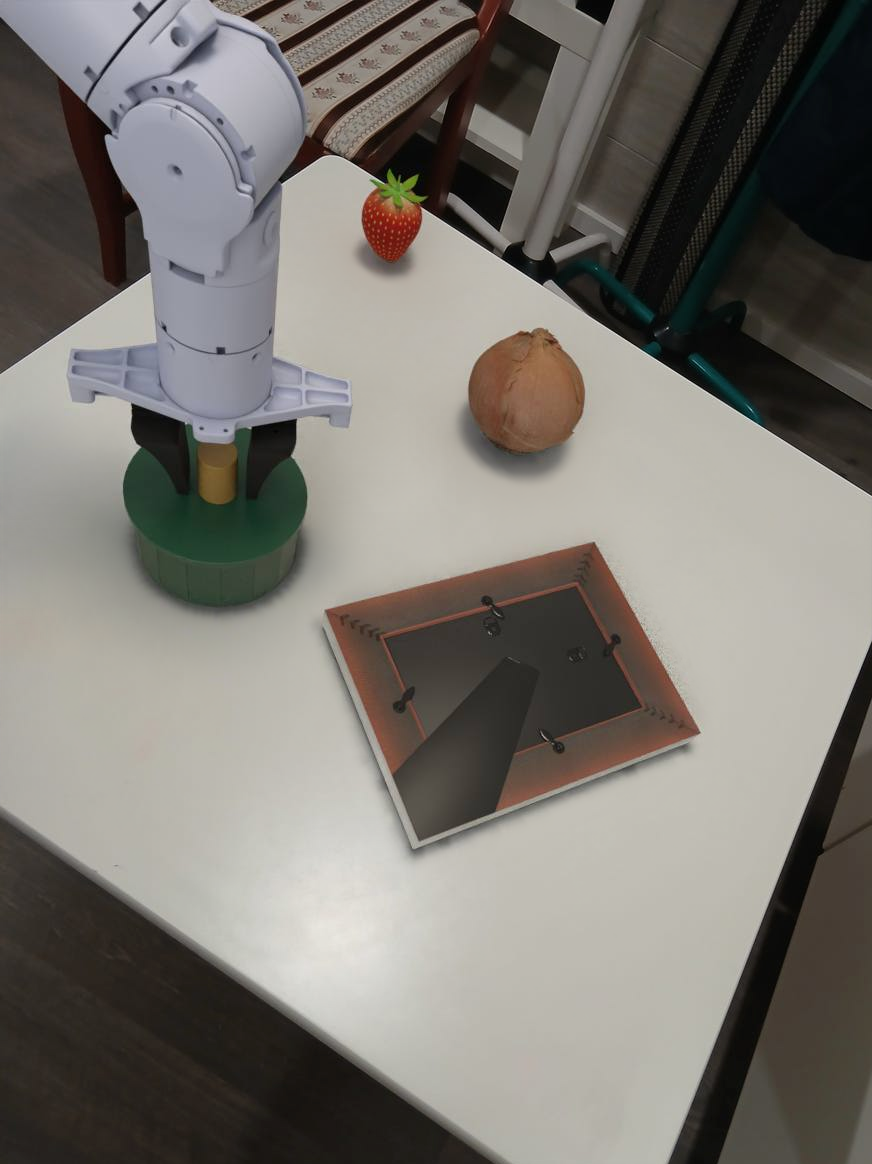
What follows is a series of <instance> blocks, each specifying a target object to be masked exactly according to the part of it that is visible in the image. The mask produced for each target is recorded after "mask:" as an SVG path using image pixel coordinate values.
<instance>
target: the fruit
mask: <svg viewBox="0 0 872 1164" xmlns="http://www.w3.org/2000/svg"><path fill="white" fill-rule="evenodd" d="M386 177H387V182H386V183H383V182H379V181H377V180H375V179H373V178H372V179H369V182H371V183H372V184H373V185H374V186H375V187H376V188H374V190H372V191H371V192H370V193H369V194H368V196H367V197H366V199H365V200H364V203H363V206H362V210H361V226H362V231H363V233H364V236H365V238H366V241H367V242H368V245H369V246H370V248H371V249H372V251H373V253H375V254H376V255H377V256H378V257H379V258H380V259H381V260H384V261H386V262H390V263H393V262H396V261H399V260H400V259H401V258H402V257H403V256H404V255H405V254H406V252H407V251H408V250H409V248H410V246H412V244H413V242H414V241H415V239H416V237H418V234H419V232H420V230H421V227H422V223H423V210H422V206H421V203H422V202H423V201H424V200H426V199H427V198H428V197H429V196H428V195H426V196H419V195H416V193H415V192H414V191H413V190H412V189H413V188H414V187H415V186H416V184H417V182H418V178H419V173H418V174H415V175H413V176H411V177H410V178H408V179H406V180H405V181H404V182H403V183H402V182H401V175H399V176H398V179H396V177H395V176H394V174H393V173H392V170H391V168H389V169H388V171H387V173H386Z"/></svg>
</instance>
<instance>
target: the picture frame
mask: <svg viewBox="0 0 872 1164" xmlns="http://www.w3.org/2000/svg"><path fill="white" fill-rule="evenodd" d="M603 556H604V555H602V552H601V551H600V549H599V547H598V546H597V544H596V542H595V541H592V542H587V543H583V544H579V545H576V546H572V547H569V548H568V547H567V548H565V549H560V550H555V551H552V552H547V553H544V554H541V555H537V556H536V555H535V556H531V557H528V558H524V559H521V560H517V561H513V562H509V563H504V564H501V565H495V566H493V567H489V568H485V569H480V570H476V571H473V572H469V573H465V574H461V575H456V576H453V577H450V578H445V579H441V580H436V581H434V582H430V583H425V584H422V585H418V586H414V587H410V588H407V589H406V588H405V589H402V590H401V589H400V590H398V591H393V592H391V593H390V592H389V593H386V594H382V595H377V596H374V597H370V598H366V599H363V600H358V601H354V602H350V603H346V604H342V605H339V606H335V607H330V608H327V609H324V612H323V616H322V620H321V624H322V627H323V629H324V632H325V634H326V637H327V639H328V642H329V645H330V647H331V650H332V652H333V655H334V658H335V659H336V662H337V664H338V667H339V669H340V672H341V674H342V677H343V679H344V682H345V684H346V686H347V689H348V691H349V694H350V696H351V699H352V702H353V704H354V706H355V710H356V711H357V714H358V717H359V719H360V721H361V724H362V726H363V729H364V731H365V735H366V737H367V739H368V741H369V744H370V746H371V749H372V751H373V754H374V756H375V759H376V761H377V763H378V764H377V765H378V766H379V768H380V771H381V773H382V777H383V779H384V781H385V785H386V786H387V788H388V791H389V794H390V796H391V798H392V801H393V804H394V806H395V809H396V811H397V814H398V816H399V818H400V821H401V823H402V826H403V828H404V831H405V833H406V835H407V838H408V841H409V843H410V846H411V848H412V850H416V849H419V848H421V847H423V846H426V845H429V844H431V843H433V842H437V841H439V840H441V839H444V838H447V837H450V836H451V835H454V834H457V833H459V832H462V831H465V830H468V829H470V828H471V827H472V828H473V827H475V826H477V825H480V824H482V823H483V824H484V823H485V822H489V821H490V820H493V819H496V818H498V817H501V816H503V815H505V814H509V813H512V812H513V811H517V810H518V809H521V808H524V807H526V806H530V805H532V804H534V803H537V802H539V801H542V800H545V799H547V798H550V797H552V796H555V795H557V794H560V793H563V792H565V791H567V790H570V789H573V788H576V787H578V786H580V785H584V784H586V783H589V782H591V781H593V780H596V779H598V778H601V777H604V776H607V775H609V774H611V773H614V772H616V771H620V770H621V769H625V768H627V767H630V766H632V765H635V764H638V763H640V762H642V761H644V760H647V759H650V758H652V757H655V756H658V755H660V754H663V753H665V752H669V751H670V750H673V749H676V748H678V747H682V746H683V745H686V744H688V743H690V742H692V741H693V740H694V739H695V738H697V737H698V736H699V735H700V734H701V731H700V729H699V727H698V725H697V723H696V721H695V720H694V717H693V715H692V714H691V713H690V711H689V708H688V707H687V706H686V704H685V701H684V700H683V698H682V697H681V695H680V693H679V690H678V689H677V687H676V686H675V684H674V683H673V680H672V678H671V676H670V675H669V673H668V671H667V669H666V668H665V666H664V664H663V662H662V660H661V659H660V657H659V655H658V653H657V651H656V650H655V647H654V646H653V644H652V642H651V641H650V639H649V637H648V636H647V633H646V632H645V630H644V628H643V626H642V625H641V623H640V620H639V619H638V618H637V616H636V613H635V612H634V610H633V608H632V607H631V605H630V603H629V601H628V599H627V598H626V596H625V593H624V592H623V590H622V588H621V587H620V585H619V584H618V581H617V579H616V578H615V576H614V574H613V573H612V570H611V569H610V567H609V565H608V564H607V562H606V560H605V558H604V557H603Z"/></svg>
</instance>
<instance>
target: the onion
mask: <svg viewBox="0 0 872 1164" xmlns="http://www.w3.org/2000/svg"><path fill="white" fill-rule="evenodd" d="M556 337H557V335H554V334H552V333H551V332H549V329H548V328H545V327H537V328H534V329H533V330H532V331H531V332H529V331H525V330H519V331H518V332H516V333H514V334H512V335H510V336H507V337H506V338H503V339H501V340H499V341H497V342H496V343H493V345H490V347H488V348H487V349H486V350H485V351H484V352H483V353H481V355H480V356H479V357H478V358H477V360H476V361H475V362H474V365H473V367H472V369H471V373H470V376H469V380H468V386H467V387H468V388H467V396H468V397H467V398H468V406H469V409H470V412H471V416H472V417H473V419H474V421H475V422H476V424H477V426H478V427H479V429H480V430H481V432H483V433H482V434H483V435H485V436H486V437H487V439H488V440H489V441H490V442H491V443H493V444H492V445H494V447H495V448H497V449H499V450H502V451H504V452H507V453H509V454H515V455H519V456H523V455H522V454H524V453H536V452H542V451H544V450H548V449H549V448H552V447H553V446H556V445H558V444H560V445H562V444H563V443H565V442H566V441H568V440H569V439H570V438H571V437H572V435H574V433H575V431H573V430H574V429H576V427H577V425H578V424H579V422H580V420H581V418H582V416H583V413H584V408H585V401H586V400H585V399H586V388H585V381H584V378H583V375H582V372H581V370H580V368H579V366H578V365H577V363H576V362H575V361H574V359H573V358H572V357H571V356H570V354H569V353H567V351H565V350H564V349H563V346H562V345H560V341H559V340H558V339H557V338H556Z"/></svg>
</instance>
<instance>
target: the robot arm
mask: <svg viewBox="0 0 872 1164" xmlns="http://www.w3.org/2000/svg"><path fill="white" fill-rule="evenodd" d="M0 18H1V20H3V21H4V23H6V24H7V25H8V26H9V27H10V29H12V30H13V32H15V33H16V35H18V36H19V38H20V39H21V40H22V41H23V42H24V43H25V44H26V45H27V46H28V47H29V48H30V49H31V51H33V52H34V53H35V54H36V55H37V56H38V57H39V58H40V59H41V61H43V62H44V63H45V64H46V65H47V66H48V67H49V68H50V69H51V70H52V71H53V72H54V73H55V74H56V76H58V77H59V78H60V79H61V80H62V82H64V83H65V85H67V87H69V89H71V91H72V92H73V93H74V94H75V95H76V96H77V97H78V98H79V99H80V100H81V101H82V102H83V103H84V104H86V106H87V107H88V108H89V109H90V110H91V111H92V112H93V113H94V114H95V115H96V116H97V117H98V118H99V119H100V120H101V121H102V122H103V124H105V125H106V126H107V127H108V128H109V130H111V134H109V133H108V134H105V135H104V142H105V146H106V150H107V154H108V156H109V157H108V158H109V159H110V162H111V164H112V167H113V169H114V171H115V173H116V176H117V177H118V178H119V180H120V182H121V183H122V185H123V187H124V188H125V190H126V191H127V193H128V194H129V195H130V196H131V198H132V199H133V201H134V202H135V204H136V206H137V208H138V210H139V213H140V216H141V221H142V231H143V238H144V240H145V241H147V248H148V257H149V258H148V260H149V270H150V271H149V272H150V281H151V282H150V283H151V294H152V304H153V314H154V315H153V316H154V326H155V339H156V342H153V343H146V344H136V345H129V346H128V345H127V346H122V347H121V346H120V347H114V348H104V349H86V348H85V349H83V348H70V351H69V357H68V364H67V371H66V379H67V383H68V388H69V392H70V397H71V402H73V403H80V404H94V403H95V401H96V396H100V397H101V396H102V397H111V398H112V397H114V398H117V399H119V400H122V401H125V402H128V403H130V407H131V411H130V412H131V419H130V432H131V435H132V438H133V440H134V442H135V443H136V445H138V446H139V447H140V448H141V447H143V448H144V449H146V450H147V451H148V452H150V453H151V454H152V455H153V456H154V457H155V458H156V459H157V460H158V461H159V463H160V464H161V465H162V466H163V468H164V469H165V471H166V472H167V474H168V475H169V477H170V479H171V481H172V483H173V485H174V487H175V489H176V492H177V494H181V495H188V494H189V479H190V454H189V447H188V441H187V435H186V428H185V424H190V425H192V426H193V435H194V438H195V439H196V440H197V441H201V442H207V443H219V444H229V443H231V442H233V441H234V438H235V431H236V430H237V429H241V428H250V429H251V436H250V442H249V449H248V455H247V469H246V499H252V500H256V499H257V497H258V493H259V491H260V489H261V487H262V485H263V483H264V481H265V480H266V478H267V477H268V475H269V474H270V473H271V471H272V470H273V469H274V468H275V467H276V466H277V465H278V464H279V463H281V462H282V461H283V460H285V459H287V458H289V457H291V456H292V455H293V453H294V451H295V449H296V445H297V440H298V439H297V438H298V435H297V433H298V432H297V428H298V427H297V426H298V425H297V424H298V419H302V418H308V417H313V418H314V417H315V418H325V419H328V425H330V426H331V427H333V428H338V429H339V428H340V429H349V427H350V426H349V425H350V421H351V415H352V409H353V391H352V390H353V389H352V380H351V379H347V378H343V377H336V376H332V375H327V374H324V373H321V372H318V371H317V370H316V371H315V370H313V369H310V368H307V367H305V366H302V365H299V364H297V363H294V362H292V361H290V360H286V359H283V358H281V357H278V356H276V355H274V342H275V339H274V338H275V330H276V329H275V328H276V327H275V326H276V313H277V297H278V295H277V294H278V282H279V281H278V279H279V265H280V264H279V263H280V250H281V235H280V233H281V220H282V219H281V217H282V201H283V200H282V199H283V185H282V182H281V181H280V180H279V179H280V178H281V177H282V175H283V174H284V173H285V171H286V170H287V169H288V168H289V166H290V165H291V164H292V162H293V161H294V160H295V158H296V157H297V155H298V153H299V150H300V149H301V148H302V145H303V144H304V141H305V139H306V134H307V130H308V120H309V119H308V107H307V102H306V97H305V93H304V90H303V87H302V85H301V83H300V80H299V78H298V75H297V74H296V72H295V70H294V69H293V67H292V65H291V64H290V62H289V61H288V59H287V58H286V56H285V55H284V53H283V52H282V50H281V48H280V46H279V44H278V42H277V40H276V39H275V37H274V36H273V35H271V34H270V33H269V32H267V30H265V29H264V28H262V27H261V26H259V25H258V24H256V23H255V22H253V21H252V20H249V19H247V18H245V17H242V16H239V15H236V14H232V13H228V12H226V11H223V10H221V9H219V8H218V7H216V6H215V5H214V4H213V3H212V2H211V0H0Z"/></svg>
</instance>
